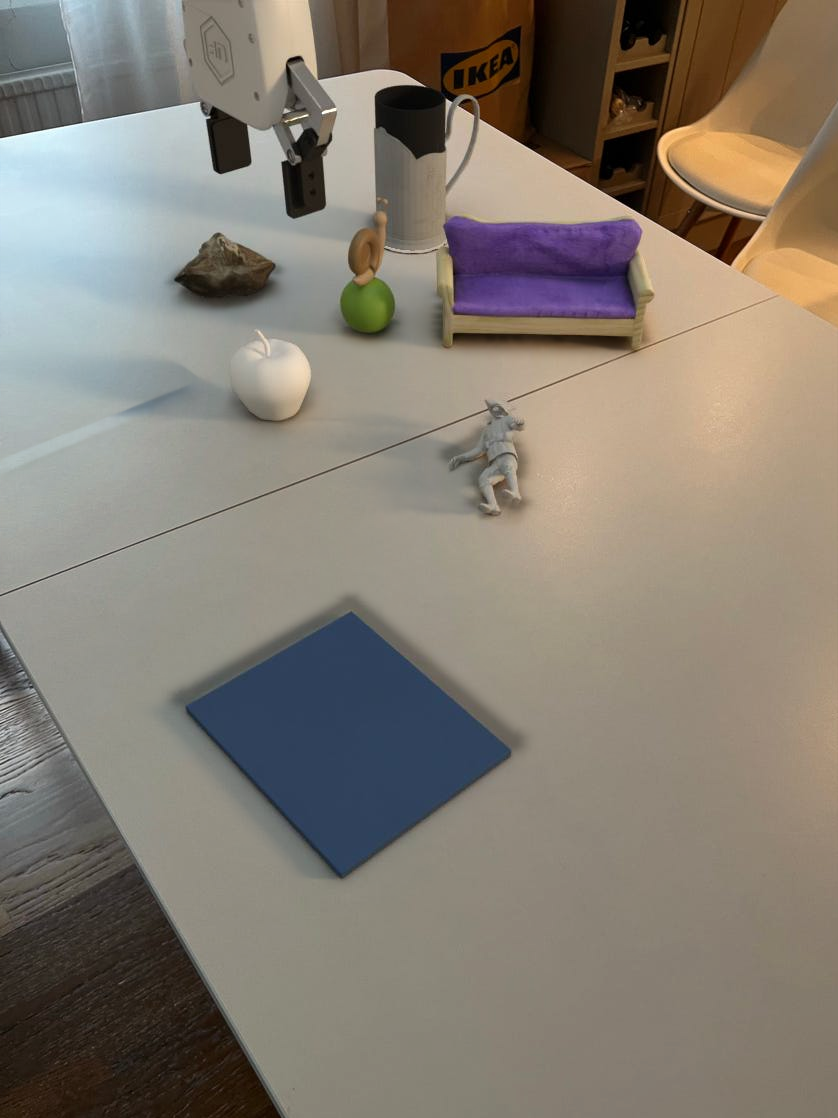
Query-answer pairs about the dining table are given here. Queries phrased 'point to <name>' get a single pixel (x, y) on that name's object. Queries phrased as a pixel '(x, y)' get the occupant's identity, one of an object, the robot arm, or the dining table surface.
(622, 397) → the dining table surface
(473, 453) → the soldier figure
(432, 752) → the blue square board
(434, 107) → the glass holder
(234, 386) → the plain white apple
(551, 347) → the dining table surface
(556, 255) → the toy sofa
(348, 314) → the snail figurine
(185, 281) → the dark brown rough lump
